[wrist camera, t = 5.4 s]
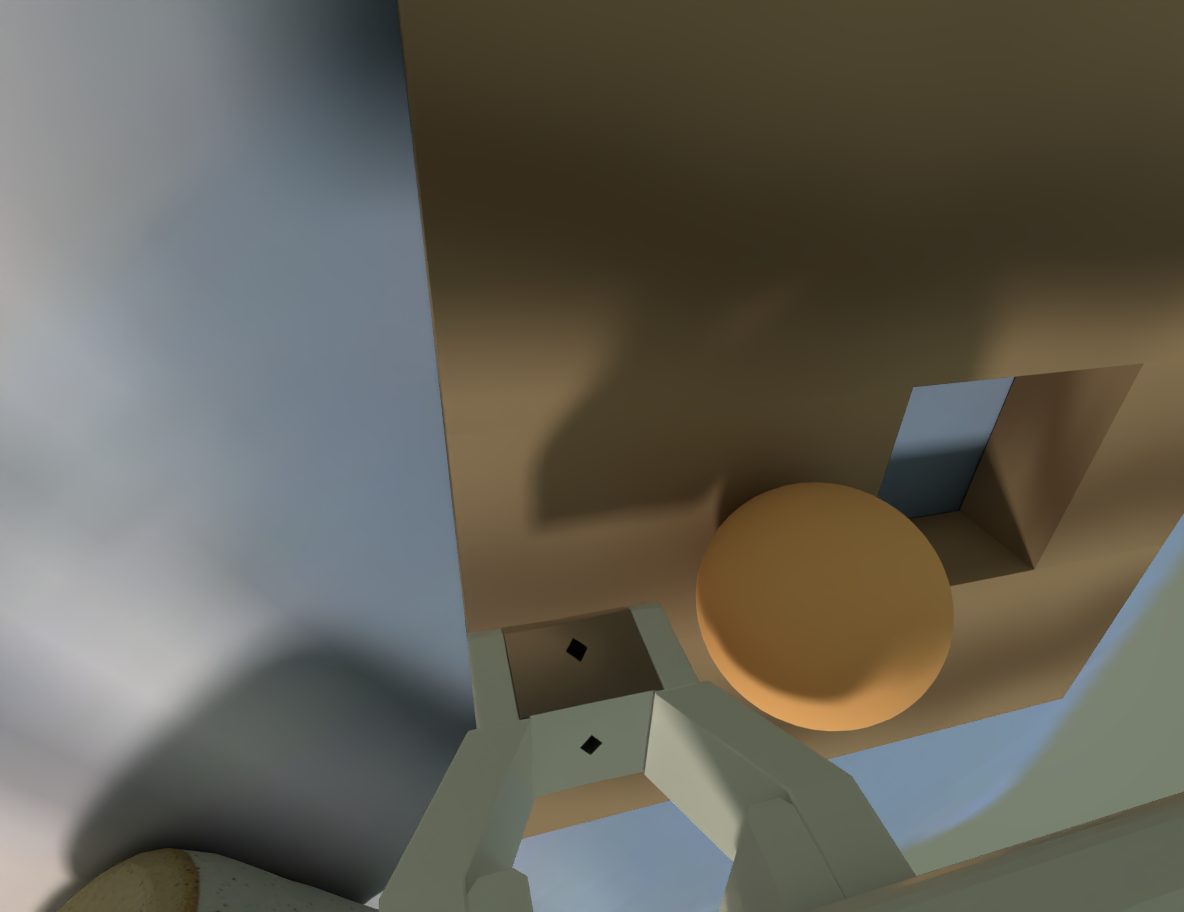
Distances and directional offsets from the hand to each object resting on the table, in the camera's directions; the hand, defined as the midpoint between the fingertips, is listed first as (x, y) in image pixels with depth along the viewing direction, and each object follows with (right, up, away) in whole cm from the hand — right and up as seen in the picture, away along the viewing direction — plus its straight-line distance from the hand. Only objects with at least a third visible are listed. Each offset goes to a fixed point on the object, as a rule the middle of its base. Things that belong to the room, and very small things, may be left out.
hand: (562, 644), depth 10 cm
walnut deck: (+6, +3, +5) cm, 9 cm away
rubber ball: (+4, +1, +1) cm, 4 cm away
